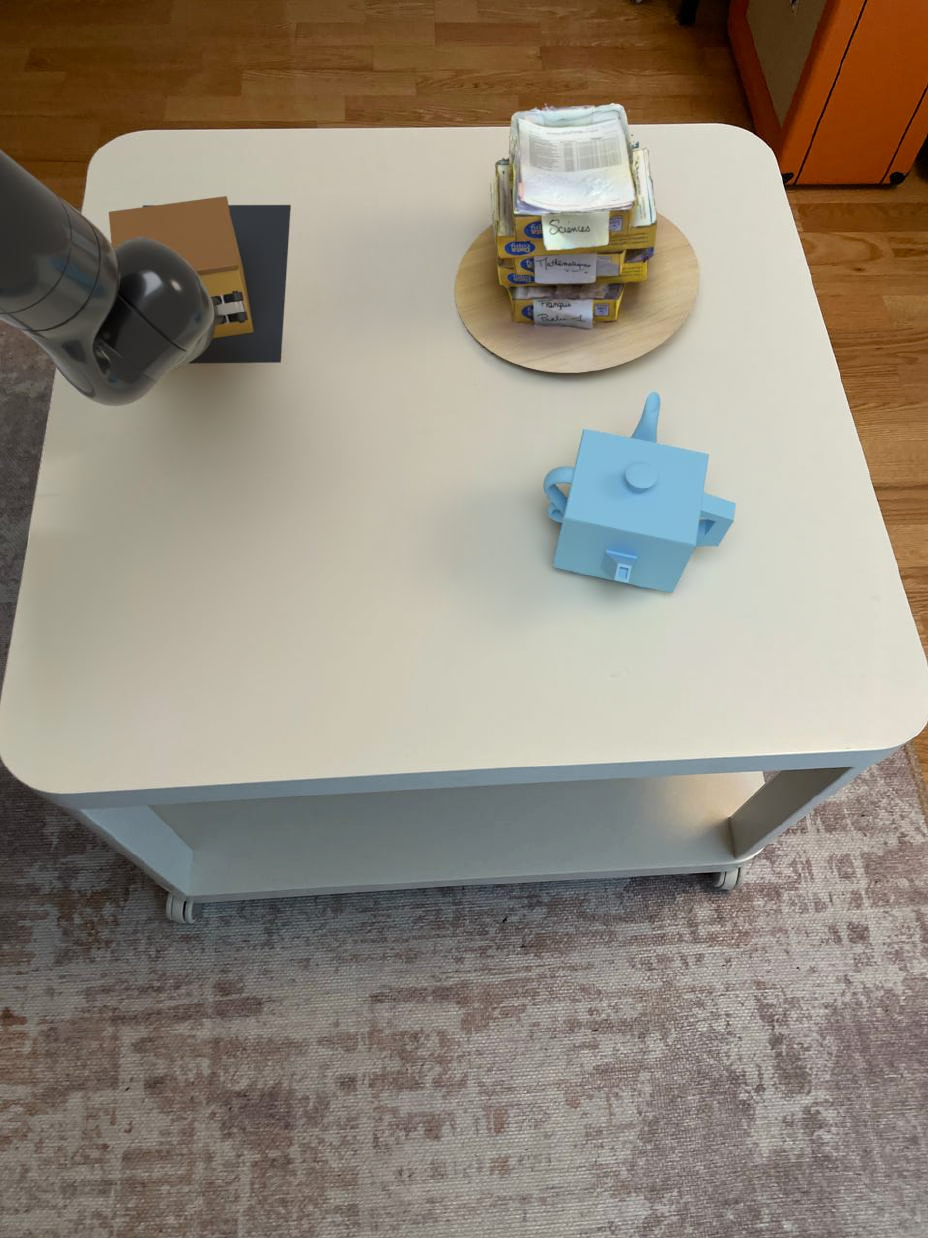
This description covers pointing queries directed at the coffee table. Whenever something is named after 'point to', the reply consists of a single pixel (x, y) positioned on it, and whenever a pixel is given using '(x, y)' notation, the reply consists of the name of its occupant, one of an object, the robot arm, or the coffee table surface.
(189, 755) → the coffee table surface
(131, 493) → the coffee table surface
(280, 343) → the mat
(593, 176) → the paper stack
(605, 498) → the teapot
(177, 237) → the toy box
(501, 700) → the coffee table surface
